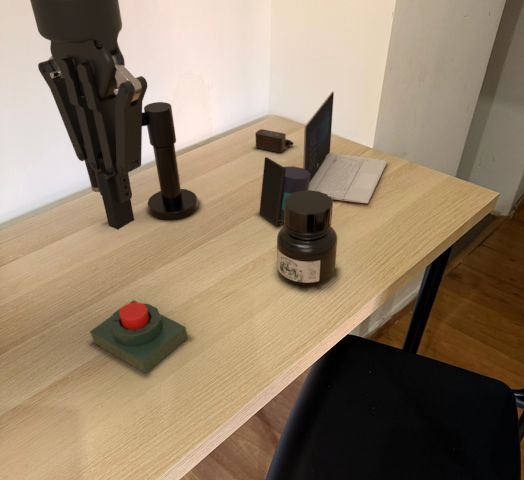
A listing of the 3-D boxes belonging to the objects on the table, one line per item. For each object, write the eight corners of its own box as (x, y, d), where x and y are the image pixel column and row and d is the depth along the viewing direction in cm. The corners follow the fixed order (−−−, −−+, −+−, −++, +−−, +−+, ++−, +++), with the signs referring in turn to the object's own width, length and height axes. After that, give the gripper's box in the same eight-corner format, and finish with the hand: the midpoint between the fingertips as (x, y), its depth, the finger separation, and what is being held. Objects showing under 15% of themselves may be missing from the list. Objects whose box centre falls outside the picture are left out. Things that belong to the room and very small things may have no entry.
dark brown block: (284, 154, 113) (284, 139, 110) (254, 148, 115) (254, 133, 113) (293, 146, 116) (294, 131, 113) (264, 140, 118) (264, 125, 116)
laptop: (367, 206, 96) (376, 135, 87) (301, 196, 100) (303, 126, 91) (387, 164, 108) (396, 97, 99) (327, 155, 112) (331, 90, 103)
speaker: (267, 229, 91) (271, 170, 85) (259, 214, 95) (262, 157, 89) (309, 226, 93) (316, 168, 86) (298, 211, 97) (305, 155, 91)
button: (116, 323, 70) (113, 313, 68) (136, 308, 72) (133, 298, 70) (135, 333, 68) (132, 323, 67) (155, 318, 70) (152, 308, 69)
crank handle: (176, 166, 95) (167, 100, 87) (183, 176, 93) (174, 109, 84) (89, 184, 91) (71, 116, 83) (94, 195, 88) (75, 126, 80)
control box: (93, 343, 72) (86, 321, 70) (136, 311, 77) (130, 289, 74) (145, 373, 68) (140, 351, 65) (187, 338, 73) (183, 316, 70)
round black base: (138, 211, 97) (125, 147, 89) (172, 191, 102) (162, 128, 94) (174, 225, 93) (164, 160, 85) (207, 204, 99) (200, 140, 90)
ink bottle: (264, 270, 83) (261, 200, 75) (303, 248, 87) (305, 179, 79) (309, 298, 78) (312, 226, 70) (348, 272, 82) (355, 202, 74)
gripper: (156, -17, 46) (184, 225, 62) (56, -30, 51) (106, 195, 68) (90, -2, 41) (139, 254, 58) (-12, -18, 47) (59, 220, 63)
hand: (121, 222), depth 63 cm, fingers closed
